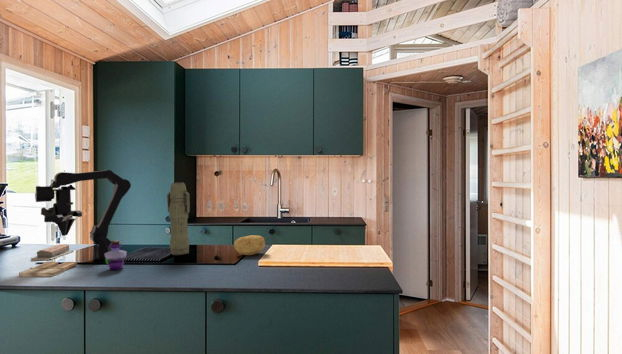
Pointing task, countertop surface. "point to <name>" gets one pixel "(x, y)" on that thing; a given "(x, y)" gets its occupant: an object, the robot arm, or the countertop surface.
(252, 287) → the countertop surface
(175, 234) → the olive stone statue
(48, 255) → the packaged product
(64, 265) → the inner oak plank
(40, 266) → the outer oak plank
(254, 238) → the potato
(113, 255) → the potion bottle
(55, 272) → the pine floorboard strip
